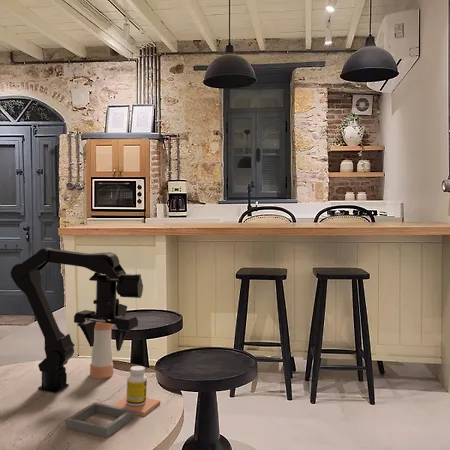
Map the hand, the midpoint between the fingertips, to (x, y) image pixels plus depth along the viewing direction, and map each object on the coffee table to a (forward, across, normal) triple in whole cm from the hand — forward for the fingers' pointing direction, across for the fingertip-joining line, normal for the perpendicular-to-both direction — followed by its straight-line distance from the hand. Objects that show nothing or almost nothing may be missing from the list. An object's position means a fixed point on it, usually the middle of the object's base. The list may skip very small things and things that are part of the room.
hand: (105, 348), depth 154 cm
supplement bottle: (+12, -14, +5) cm, 19 cm away
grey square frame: (+13, -11, +18) cm, 25 cm away
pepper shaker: (+13, +9, -12) cm, 20 cm away
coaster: (+13, -14, +5) cm, 20 cm away
